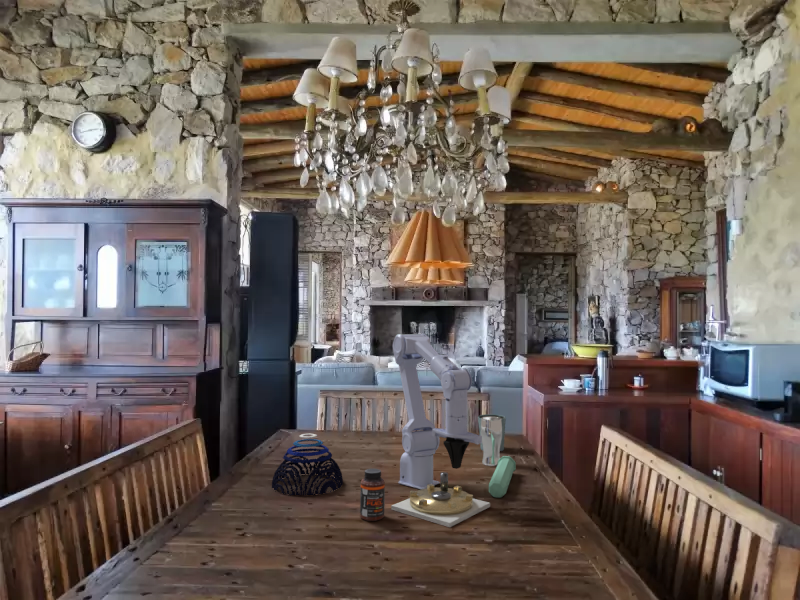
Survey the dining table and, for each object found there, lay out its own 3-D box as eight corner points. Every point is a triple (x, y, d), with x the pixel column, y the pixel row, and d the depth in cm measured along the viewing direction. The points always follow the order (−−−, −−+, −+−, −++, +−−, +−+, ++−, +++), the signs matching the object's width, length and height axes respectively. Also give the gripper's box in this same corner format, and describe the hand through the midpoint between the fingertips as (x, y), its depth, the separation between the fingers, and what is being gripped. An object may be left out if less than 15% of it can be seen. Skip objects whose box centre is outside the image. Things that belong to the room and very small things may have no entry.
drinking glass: (509, 448, 202) (509, 415, 202) (499, 454, 193) (499, 420, 193) (484, 444, 207) (484, 413, 207) (473, 450, 198) (473, 417, 199)
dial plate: (391, 509, 138) (391, 505, 138) (433, 492, 151) (433, 488, 151) (449, 527, 126) (449, 522, 126) (490, 506, 140) (490, 502, 140)
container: (502, 477, 146) (511, 452, 169) (482, 483, 147) (494, 458, 171) (511, 498, 145) (519, 471, 169) (490, 504, 146) (501, 476, 170)
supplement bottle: (366, 523, 128) (366, 475, 129) (356, 515, 133) (356, 469, 134) (388, 519, 131) (388, 472, 131) (378, 511, 136) (378, 466, 137)
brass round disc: (434, 519, 128) (434, 494, 128) (397, 500, 141) (397, 477, 141) (485, 506, 136) (485, 483, 136) (446, 489, 150) (446, 468, 150)
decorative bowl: (356, 484, 158) (357, 435, 159) (300, 501, 144) (301, 447, 144) (314, 471, 172) (314, 425, 173) (259, 485, 158) (259, 435, 158)
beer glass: (478, 465, 179) (478, 419, 179) (483, 459, 185) (483, 415, 186) (499, 467, 176) (499, 420, 177) (504, 462, 183) (503, 417, 183)
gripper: (488, 416, 141) (488, 469, 141) (442, 410, 151) (442, 459, 150) (473, 420, 136) (473, 475, 135) (427, 413, 145) (427, 465, 145)
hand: (456, 467), depth 142 cm, fingers closed
